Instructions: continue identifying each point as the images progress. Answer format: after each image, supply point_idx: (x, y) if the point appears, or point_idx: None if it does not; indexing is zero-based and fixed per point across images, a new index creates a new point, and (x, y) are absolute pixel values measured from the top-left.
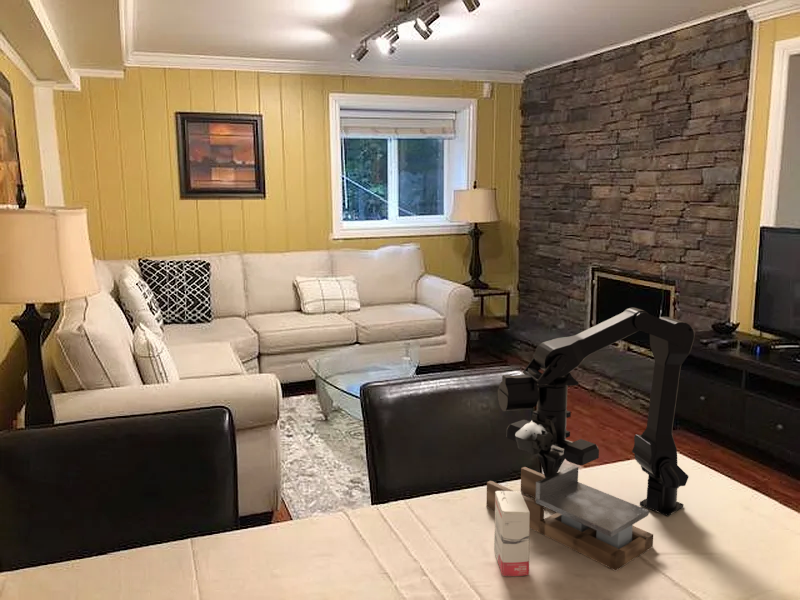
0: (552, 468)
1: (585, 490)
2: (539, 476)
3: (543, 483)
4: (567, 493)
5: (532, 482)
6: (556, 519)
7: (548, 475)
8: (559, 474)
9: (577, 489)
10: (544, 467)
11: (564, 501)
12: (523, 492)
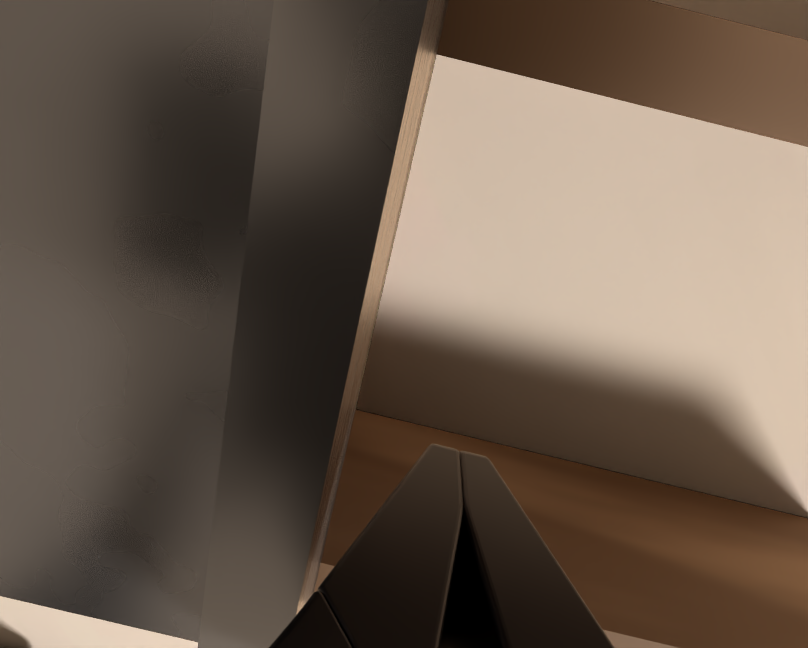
0: (293, 625)
1: (68, 531)
2: (696, 645)
3: (277, 29)
4: (164, 368)
5: (745, 586)
6: None
7: (434, 510)
8: (229, 574)
9: (144, 513)
10: (528, 630)
11: (43, 121)
12: (786, 514)
